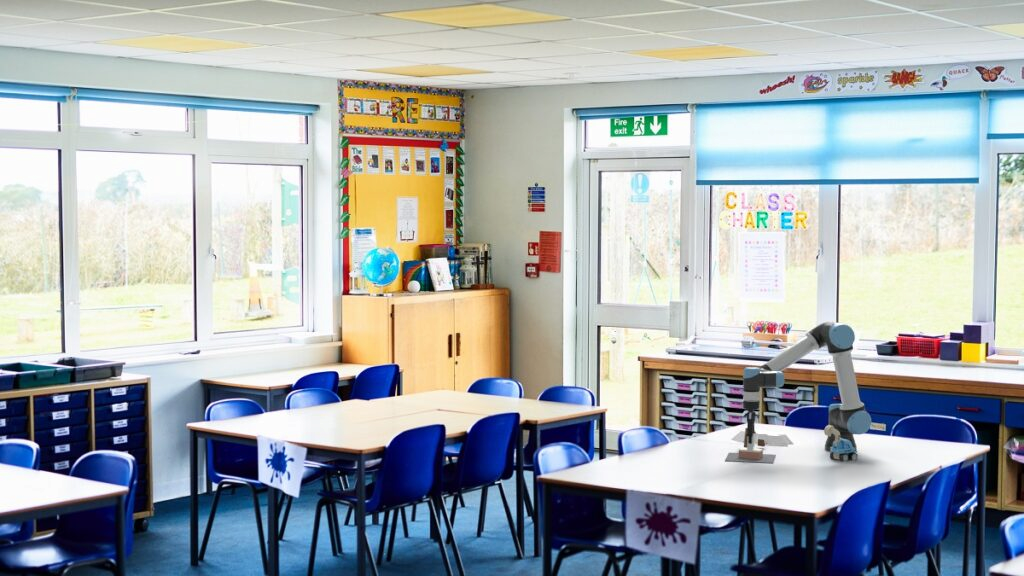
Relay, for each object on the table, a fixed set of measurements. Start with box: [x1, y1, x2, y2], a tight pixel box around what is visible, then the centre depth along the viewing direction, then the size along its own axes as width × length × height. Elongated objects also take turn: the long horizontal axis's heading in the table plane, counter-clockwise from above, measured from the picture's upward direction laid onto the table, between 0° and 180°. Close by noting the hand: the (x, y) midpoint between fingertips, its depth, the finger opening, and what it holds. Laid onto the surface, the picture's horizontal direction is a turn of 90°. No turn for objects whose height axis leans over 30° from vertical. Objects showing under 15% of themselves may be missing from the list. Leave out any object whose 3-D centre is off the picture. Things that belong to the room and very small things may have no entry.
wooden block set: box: [743, 427, 766, 448], centre depth 599 cm, size 18×9×10 cm, turn 151°
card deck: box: [738, 446, 764, 459], centre depth 575 cm, size 6×10×4 cm, turn 64°
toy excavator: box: [823, 424, 858, 462], centre depth 571 cm, size 9×17×17 cm, turn 117°
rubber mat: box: [724, 452, 776, 465], centre depth 575 cm, size 22×22×1 cm
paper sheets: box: [730, 429, 794, 448], centre depth 625 cm, size 35×20×6 cm, turn 48°
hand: (750, 448), depth 575 cm, fingers open, 8 cm apart
